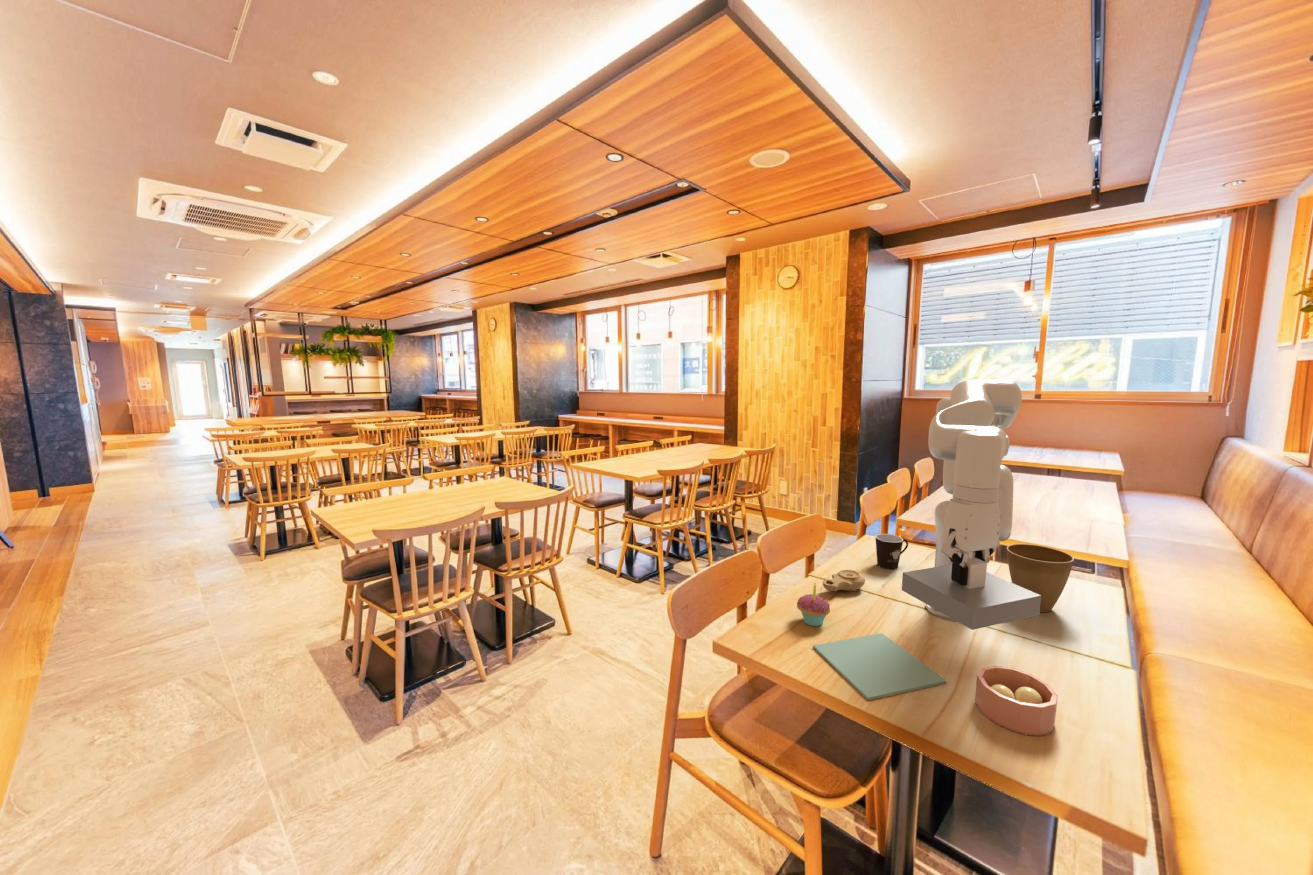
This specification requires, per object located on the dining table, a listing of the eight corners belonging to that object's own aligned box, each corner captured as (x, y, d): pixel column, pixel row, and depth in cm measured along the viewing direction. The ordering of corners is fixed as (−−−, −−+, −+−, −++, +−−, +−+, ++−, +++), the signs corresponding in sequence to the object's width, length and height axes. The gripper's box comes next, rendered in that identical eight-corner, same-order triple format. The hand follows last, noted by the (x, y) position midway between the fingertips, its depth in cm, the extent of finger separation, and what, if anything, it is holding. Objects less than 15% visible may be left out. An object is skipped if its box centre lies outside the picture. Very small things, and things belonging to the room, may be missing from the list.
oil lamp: (820, 594, 148) (820, 579, 147) (832, 577, 160) (833, 563, 159) (857, 603, 142) (857, 587, 141) (867, 585, 154) (868, 570, 153)
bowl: (1008, 687, 104) (1010, 661, 103) (1070, 728, 92) (1073, 699, 91) (961, 698, 101) (963, 671, 100) (1019, 741, 89) (1022, 711, 88)
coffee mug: (877, 570, 165) (879, 541, 163) (870, 560, 173) (872, 533, 172) (914, 572, 163) (916, 543, 162) (906, 562, 171) (907, 534, 170)
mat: (881, 635, 125) (882, 633, 125) (946, 683, 106) (947, 680, 106) (812, 647, 120) (813, 645, 120) (868, 700, 101) (868, 697, 101)
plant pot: (1079, 611, 136) (1085, 556, 134) (1049, 624, 129) (1055, 566, 127) (1020, 590, 149) (1025, 539, 147) (990, 600, 143) (995, 548, 140)
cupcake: (831, 631, 127) (833, 587, 125) (797, 628, 129) (799, 585, 127) (827, 615, 135) (828, 573, 134) (795, 612, 137) (796, 571, 135)
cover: (962, 579, 110) (965, 540, 109) (1039, 614, 94) (1044, 570, 93) (901, 590, 105) (904, 550, 104) (972, 629, 89) (975, 583, 88)
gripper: (989, 485, 102) (982, 568, 105) (925, 492, 98) (920, 579, 100) (1025, 494, 95) (1017, 583, 98) (958, 502, 90) (951, 595, 93)
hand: (968, 580), depth 99 cm, fingers closed on cover, 4 cm apart
